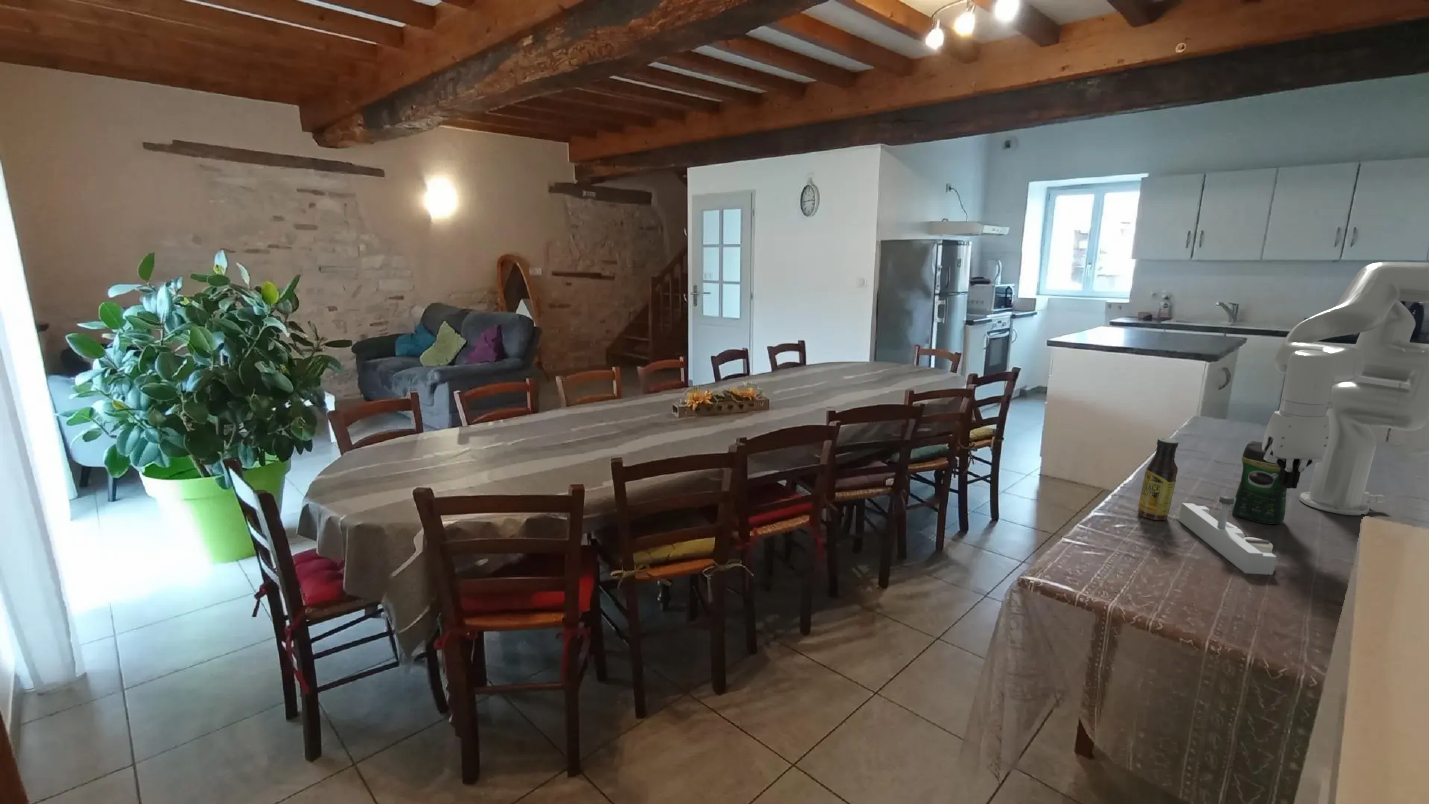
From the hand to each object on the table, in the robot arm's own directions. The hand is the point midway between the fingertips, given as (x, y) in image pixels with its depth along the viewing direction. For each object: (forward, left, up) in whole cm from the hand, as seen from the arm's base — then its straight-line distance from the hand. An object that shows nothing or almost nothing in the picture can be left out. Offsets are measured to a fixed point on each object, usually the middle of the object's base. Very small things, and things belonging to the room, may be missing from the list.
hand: (1287, 485), depth 141 cm
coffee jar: (-1, -9, -12) cm, 15 cm away
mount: (+15, +8, -12) cm, 21 cm away
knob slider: (+13, +14, -12) cm, 22 cm away
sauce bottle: (+23, -6, -12) cm, 27 cm away
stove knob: (+11, +2, -12) cm, 17 cm away
